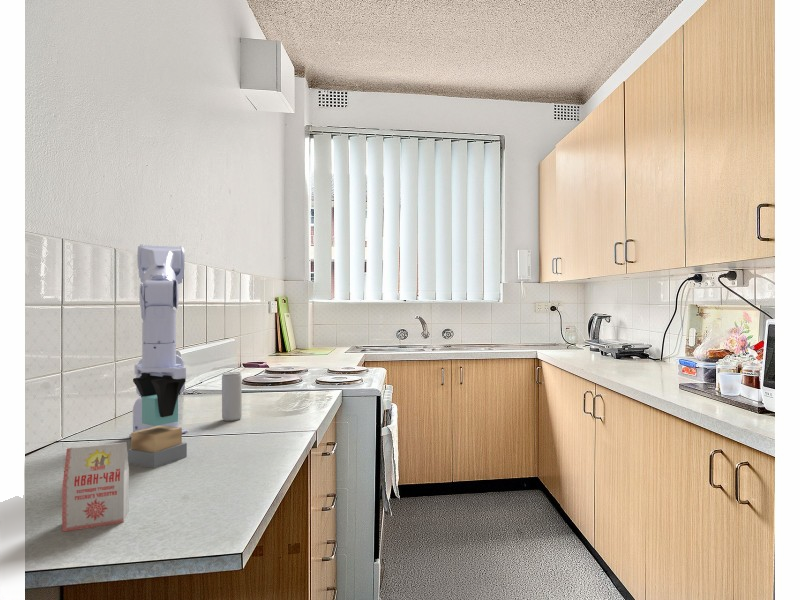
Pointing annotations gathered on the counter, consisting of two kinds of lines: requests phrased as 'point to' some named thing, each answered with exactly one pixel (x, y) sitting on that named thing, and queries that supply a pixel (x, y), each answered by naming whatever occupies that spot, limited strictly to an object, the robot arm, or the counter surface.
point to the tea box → (95, 486)
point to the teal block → (156, 412)
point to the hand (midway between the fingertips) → (159, 414)
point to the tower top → (156, 438)
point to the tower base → (157, 456)
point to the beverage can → (231, 396)
